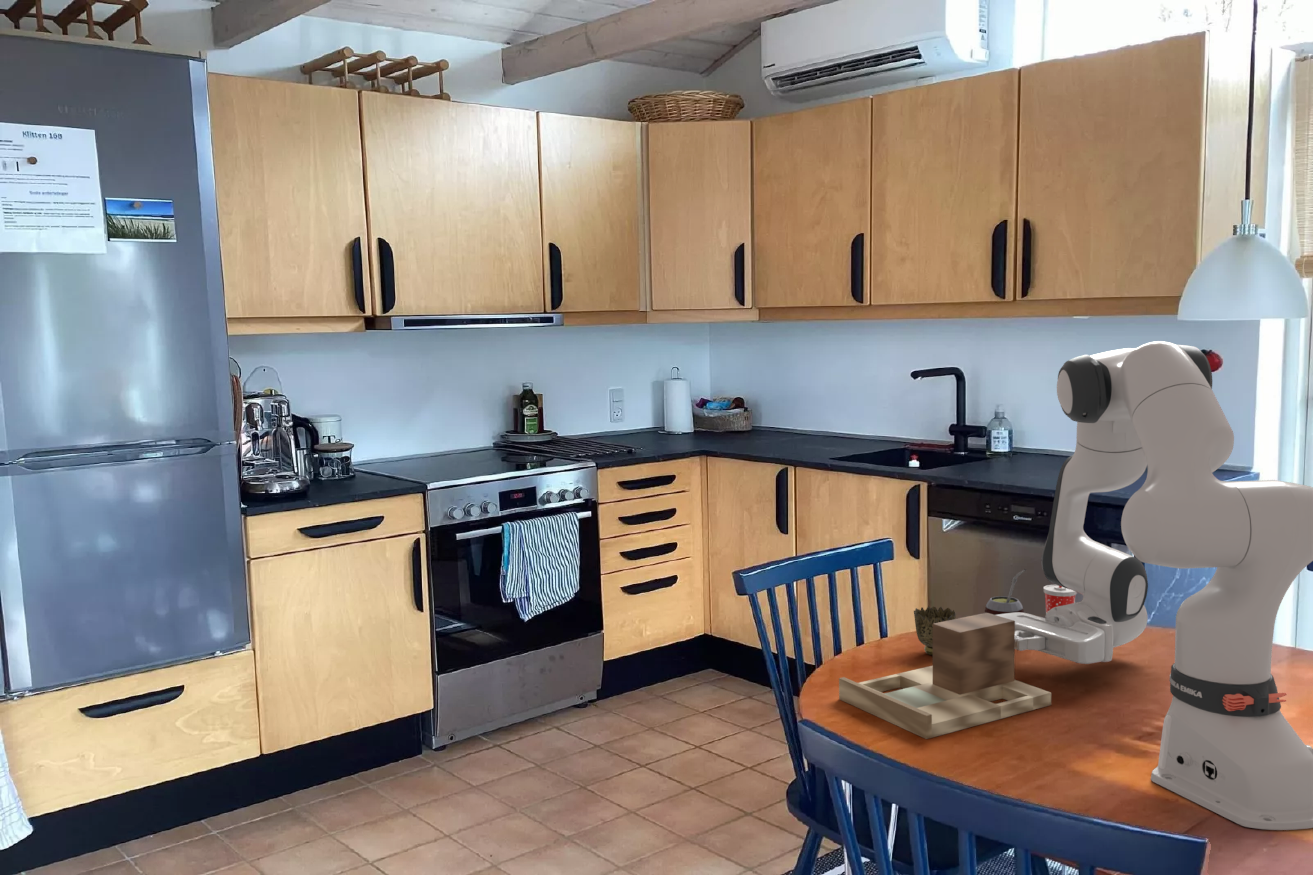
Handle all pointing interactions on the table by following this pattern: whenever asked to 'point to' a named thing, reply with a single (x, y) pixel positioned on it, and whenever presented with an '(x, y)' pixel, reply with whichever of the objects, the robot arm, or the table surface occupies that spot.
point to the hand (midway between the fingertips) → (1012, 643)
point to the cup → (930, 624)
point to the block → (973, 652)
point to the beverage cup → (1058, 596)
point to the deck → (938, 702)
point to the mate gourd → (1005, 602)
